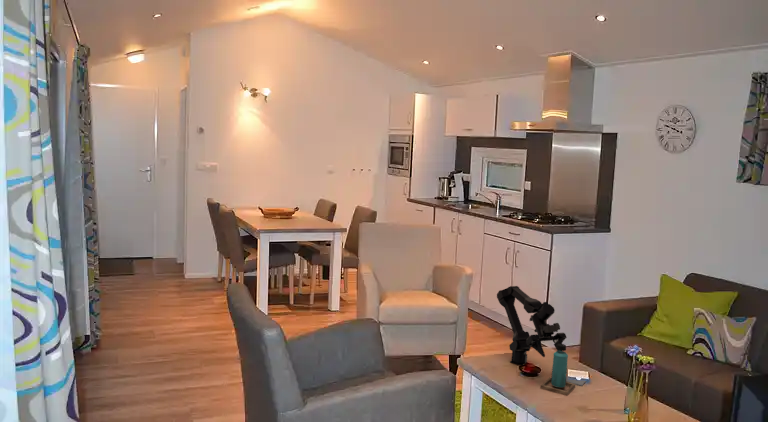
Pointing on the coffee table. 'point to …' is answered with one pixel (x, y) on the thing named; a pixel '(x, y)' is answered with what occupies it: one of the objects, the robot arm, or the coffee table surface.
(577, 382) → the grey coaster
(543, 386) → the walnut collar
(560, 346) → the beverage bottle
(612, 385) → the coffee table surface
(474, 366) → the coffee table surface
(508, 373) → the coffee table surface
